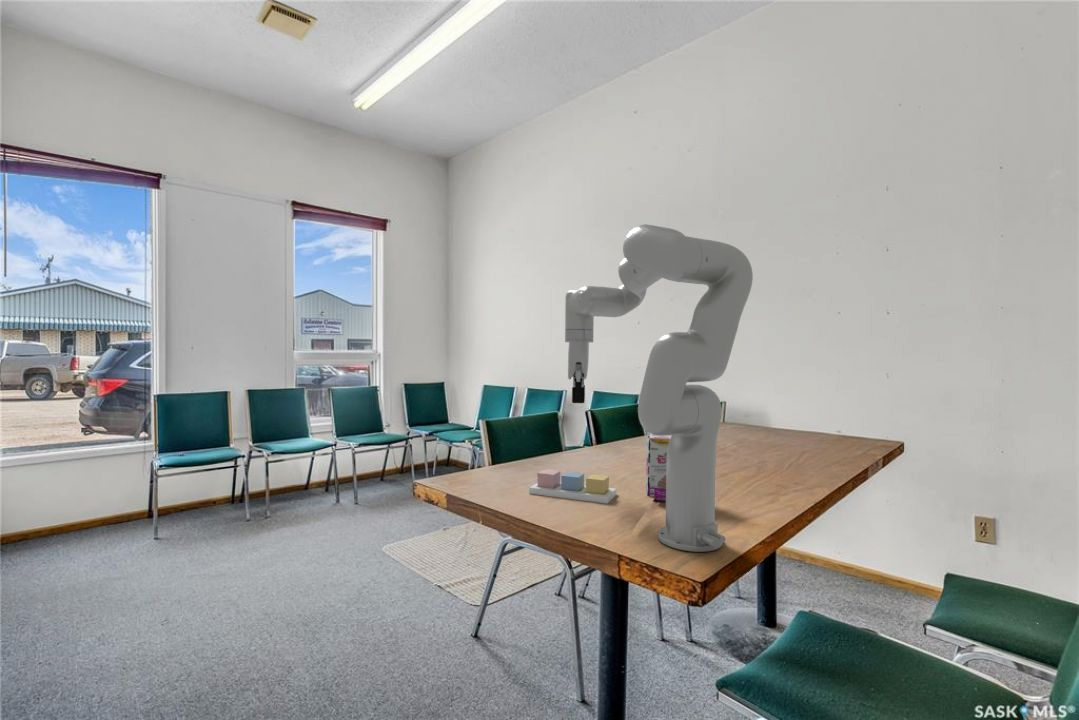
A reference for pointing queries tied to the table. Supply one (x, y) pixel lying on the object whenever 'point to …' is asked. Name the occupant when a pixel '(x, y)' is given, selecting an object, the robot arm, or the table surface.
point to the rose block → (548, 479)
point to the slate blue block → (572, 481)
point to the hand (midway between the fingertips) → (578, 401)
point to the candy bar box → (656, 467)
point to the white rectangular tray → (573, 494)
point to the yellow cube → (597, 484)
